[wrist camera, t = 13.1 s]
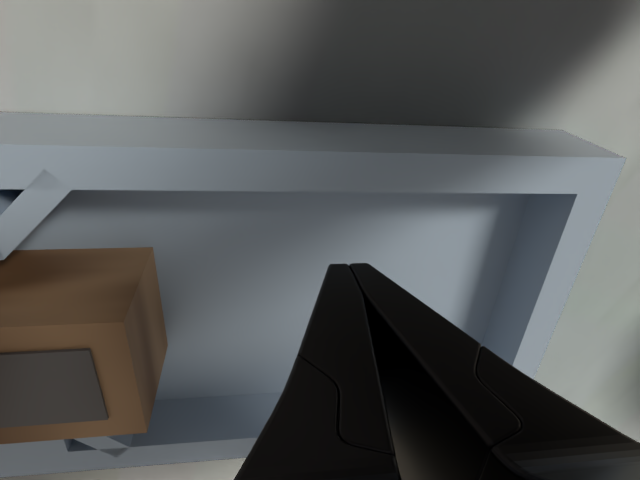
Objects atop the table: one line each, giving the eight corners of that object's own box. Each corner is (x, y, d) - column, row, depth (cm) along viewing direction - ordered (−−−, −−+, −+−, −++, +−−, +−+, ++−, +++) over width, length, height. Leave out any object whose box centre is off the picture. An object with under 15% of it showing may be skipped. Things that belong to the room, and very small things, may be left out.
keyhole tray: (562, 130, 16) (626, 157, 13) (478, 381, 22) (509, 436, 20) (-275, 103, 12) (-427, 135, 10) (-94, 416, 19) (-155, 490, 16)
